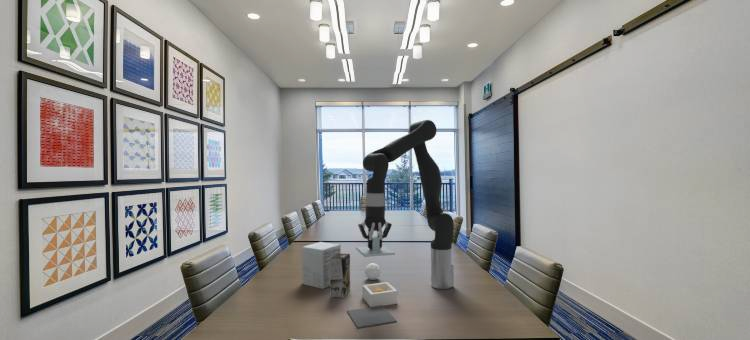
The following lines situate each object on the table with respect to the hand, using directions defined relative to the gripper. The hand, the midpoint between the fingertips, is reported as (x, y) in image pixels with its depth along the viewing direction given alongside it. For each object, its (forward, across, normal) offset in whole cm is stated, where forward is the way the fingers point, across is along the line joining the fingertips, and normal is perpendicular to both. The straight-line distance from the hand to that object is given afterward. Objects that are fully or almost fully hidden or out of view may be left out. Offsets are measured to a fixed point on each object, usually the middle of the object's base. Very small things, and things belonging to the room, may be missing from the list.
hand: (374, 248), depth 128 cm
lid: (+1, 0, 0) cm, 1 cm away
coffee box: (+22, +10, -16) cm, 29 cm away
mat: (+22, +4, +9) cm, 24 cm away
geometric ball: (+22, -9, -30) cm, 38 cm away
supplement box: (+22, +15, -33) cm, 43 cm away
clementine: (+19, -3, -4) cm, 20 cm away
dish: (+22, -4, -4) cm, 22 cm away
